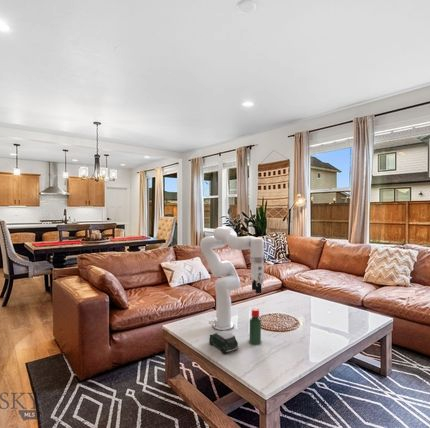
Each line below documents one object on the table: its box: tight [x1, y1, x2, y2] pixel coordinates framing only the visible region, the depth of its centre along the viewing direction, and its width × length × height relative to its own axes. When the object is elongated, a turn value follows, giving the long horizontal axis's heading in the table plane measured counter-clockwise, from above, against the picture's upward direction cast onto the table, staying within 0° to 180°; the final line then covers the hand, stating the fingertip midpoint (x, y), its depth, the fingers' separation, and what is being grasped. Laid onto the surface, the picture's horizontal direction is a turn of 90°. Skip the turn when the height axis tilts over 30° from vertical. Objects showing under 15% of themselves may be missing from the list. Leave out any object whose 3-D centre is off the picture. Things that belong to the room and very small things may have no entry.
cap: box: [251, 307, 260, 318], centre depth 168 cm, size 4×4×4 cm
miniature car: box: [208, 330, 240, 354], centre depth 163 cm, size 9×18×8 cm, turn 39°
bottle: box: [249, 316, 262, 346], centre depth 168 cm, size 6×6×18 cm
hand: (256, 291), depth 167 cm, fingers open, 5 cm apart
